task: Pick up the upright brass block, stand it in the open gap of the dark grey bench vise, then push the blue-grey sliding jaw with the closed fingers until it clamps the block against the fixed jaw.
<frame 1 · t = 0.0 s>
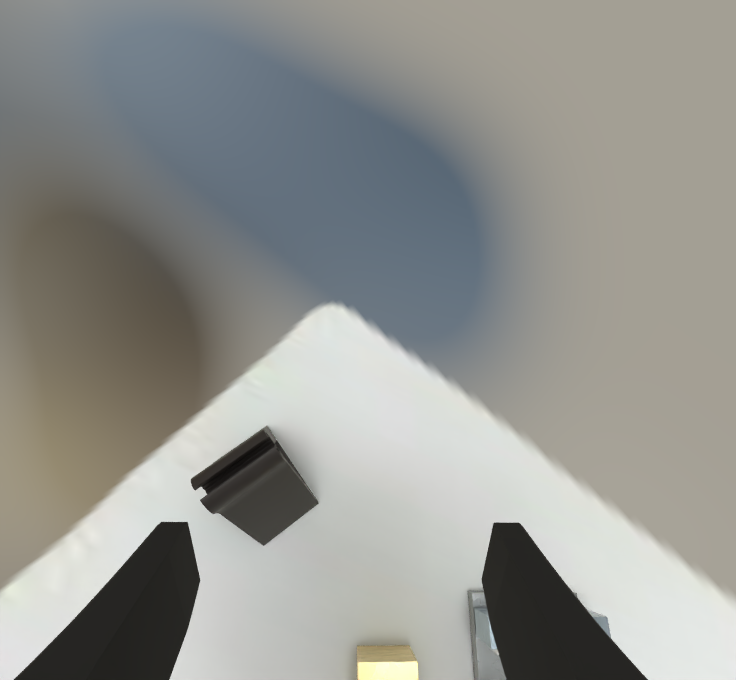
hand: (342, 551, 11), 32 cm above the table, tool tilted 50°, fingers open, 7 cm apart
phone stand: (266, 483, 42), on the table
brass block: (383, 674, 36), on the table
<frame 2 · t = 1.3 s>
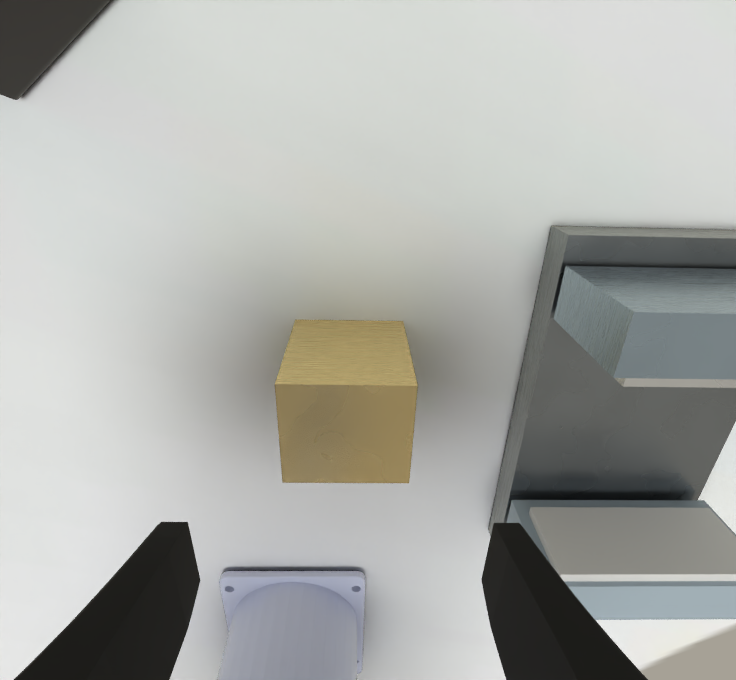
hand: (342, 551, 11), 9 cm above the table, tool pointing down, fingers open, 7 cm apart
sliding jaw: (628, 552, 19), point 4 cm above the table, slide at 0.0 cm
vise: (611, 405, 20), on the table
brass block: (349, 362, 19), on the table
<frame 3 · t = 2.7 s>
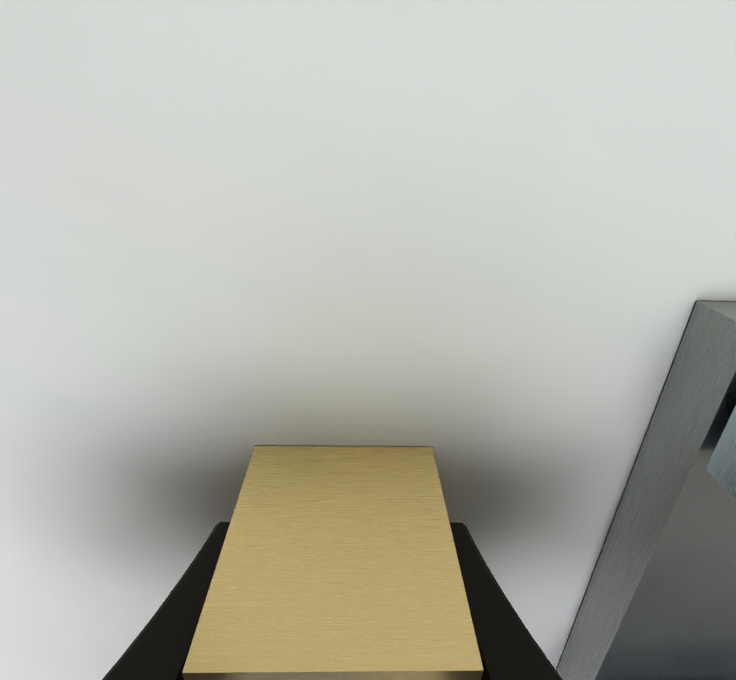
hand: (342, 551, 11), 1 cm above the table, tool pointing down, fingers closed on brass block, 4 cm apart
brass block: (343, 505, 12), on the table, touching gripper
when the fingers open (4 cm above the table, at t = 6.3 s): brass block stays where it is, resting on vise.
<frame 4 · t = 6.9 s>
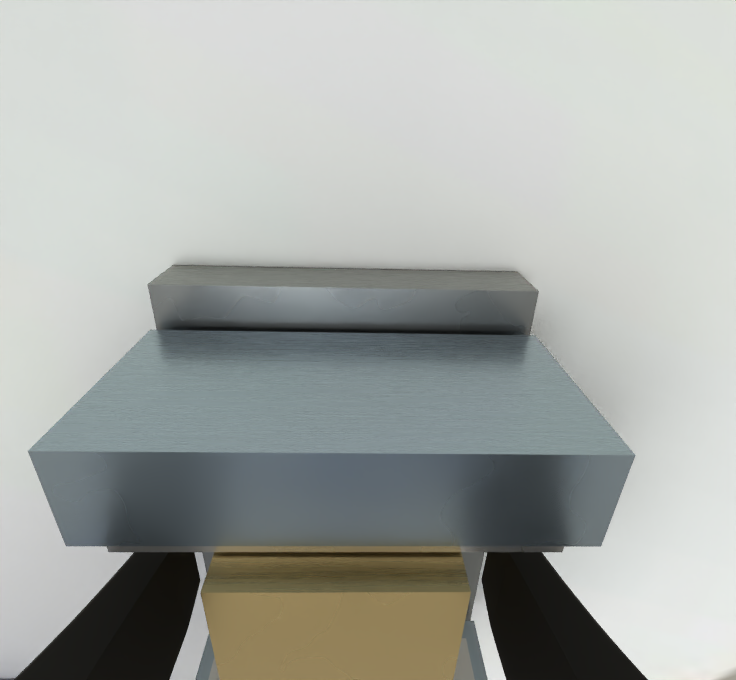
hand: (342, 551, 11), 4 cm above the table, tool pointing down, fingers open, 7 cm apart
vise: (345, 495, 15), on the table
brass block: (344, 469, 13), point 1 cm above the table, touching vise
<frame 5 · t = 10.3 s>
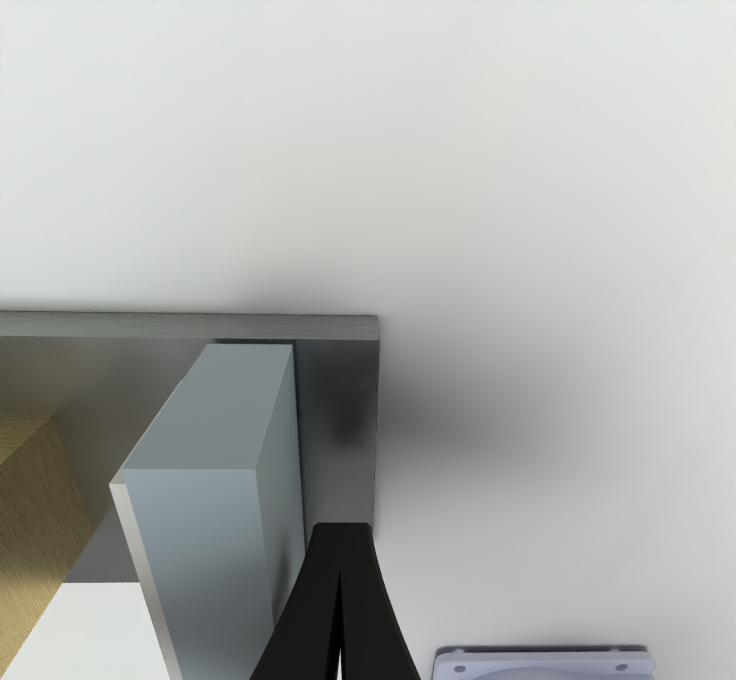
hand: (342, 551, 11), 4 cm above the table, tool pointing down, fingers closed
sliding jaw: (240, 552, 10), point 4 cm above the table, slide at 0.1 cm, touching gripper
vise: (119, 444, 14), on the table
brass block: (2, 478, 12), point 1 cm above the table, touching vise
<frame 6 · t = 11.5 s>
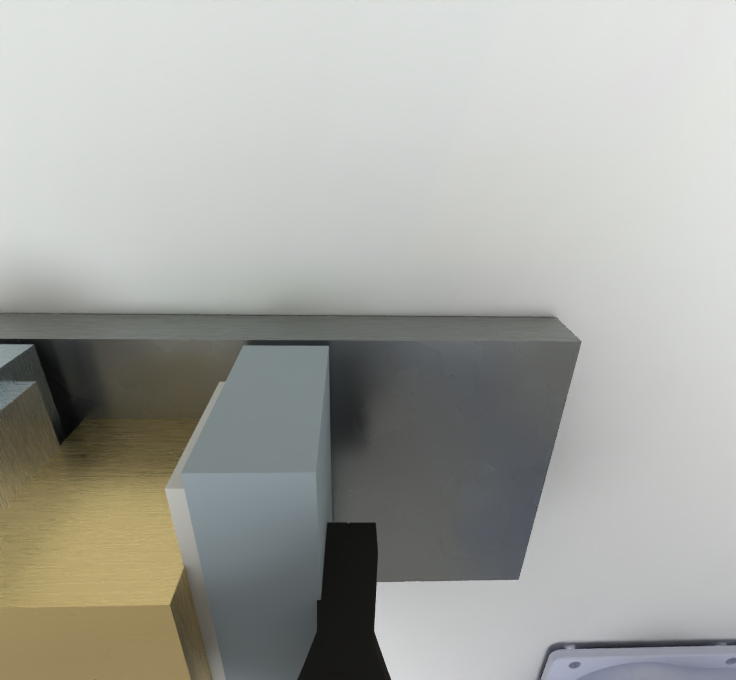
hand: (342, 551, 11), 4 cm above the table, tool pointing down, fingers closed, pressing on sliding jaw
sliding jaw: (277, 554, 10), point 4 cm above the table, slide at 4.2 cm, touching brass block, gripper
vise: (278, 446, 14), on the table
brass block: (177, 481, 12), point 2 cm above the table, touching sliding jaw, vise
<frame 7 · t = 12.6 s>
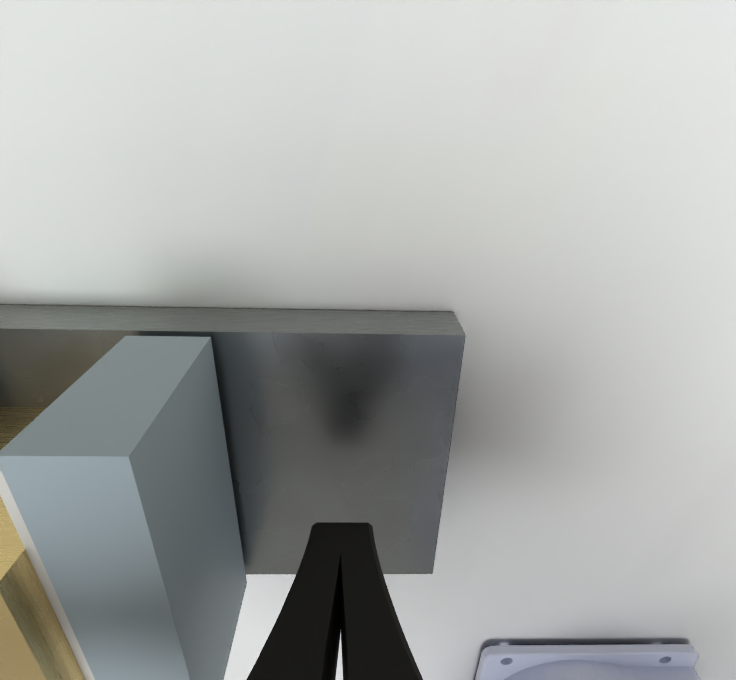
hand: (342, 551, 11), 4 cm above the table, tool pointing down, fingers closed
sliding jaw: (158, 542, 11), point 4 cm above the table, slide at 4.2 cm, touching brass block
vise: (189, 438, 14), on the table
brass block: (79, 471, 13), point 1 cm above the table, touching sliding jaw, vise
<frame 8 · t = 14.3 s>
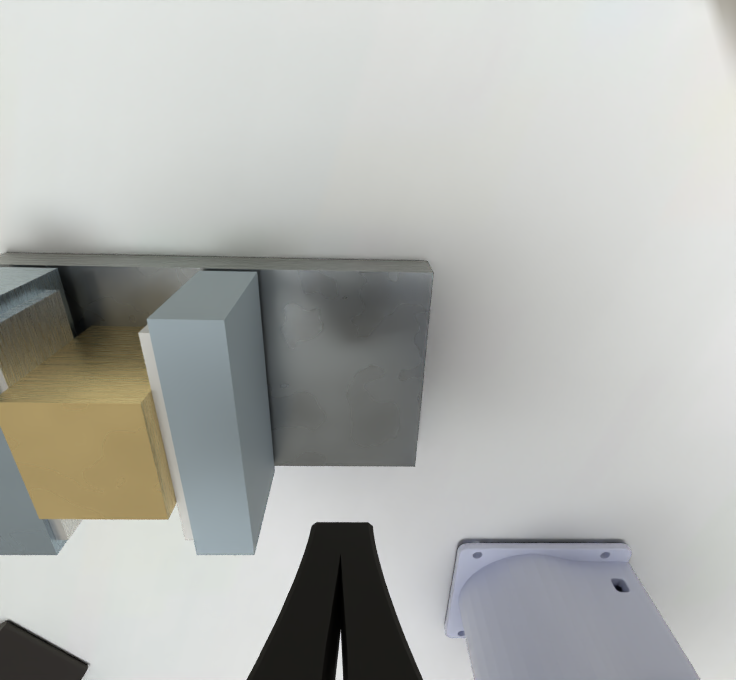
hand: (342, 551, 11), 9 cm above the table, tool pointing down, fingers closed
sliding jaw: (221, 413, 15), point 4 cm above the table, slide at 4.2 cm, touching brass block
phone stand: (9, 663, 29), on the table
vise: (232, 359, 19), on the table
brass block: (156, 377, 17), point 1 cm above the table, touching sliding jaw, vise
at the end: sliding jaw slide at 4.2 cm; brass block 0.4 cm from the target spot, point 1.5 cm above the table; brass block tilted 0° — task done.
